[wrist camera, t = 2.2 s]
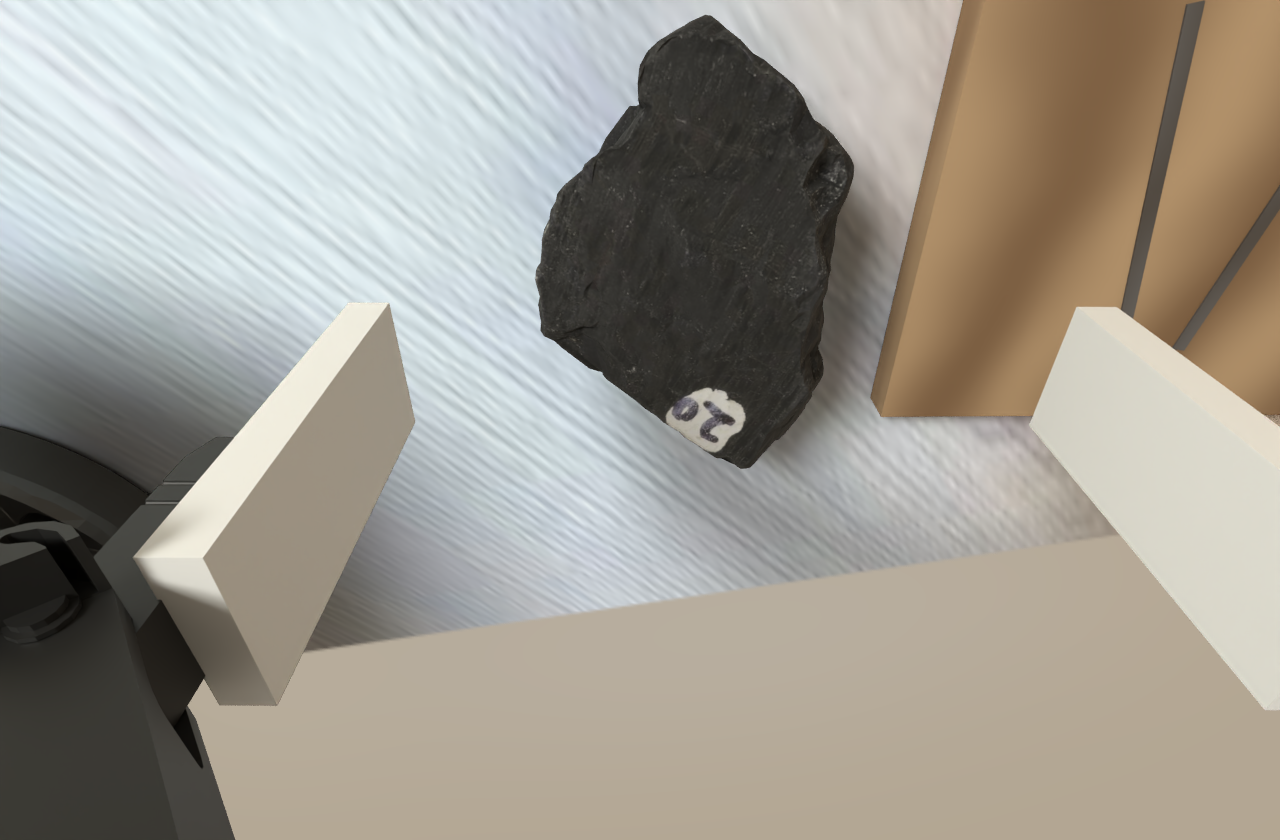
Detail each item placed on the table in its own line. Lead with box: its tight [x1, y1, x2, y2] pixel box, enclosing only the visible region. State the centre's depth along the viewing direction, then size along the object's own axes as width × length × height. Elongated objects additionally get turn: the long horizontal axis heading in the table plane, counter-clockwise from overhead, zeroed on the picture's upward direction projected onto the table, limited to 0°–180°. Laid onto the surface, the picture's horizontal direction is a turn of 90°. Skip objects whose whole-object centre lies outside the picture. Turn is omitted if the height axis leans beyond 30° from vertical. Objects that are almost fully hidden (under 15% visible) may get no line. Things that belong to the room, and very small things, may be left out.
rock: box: [535, 15, 854, 469], centre depth 18 cm, size 9×10×6 cm
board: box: [870, 0, 1280, 417], centre depth 19 cm, size 18×14×1 cm
